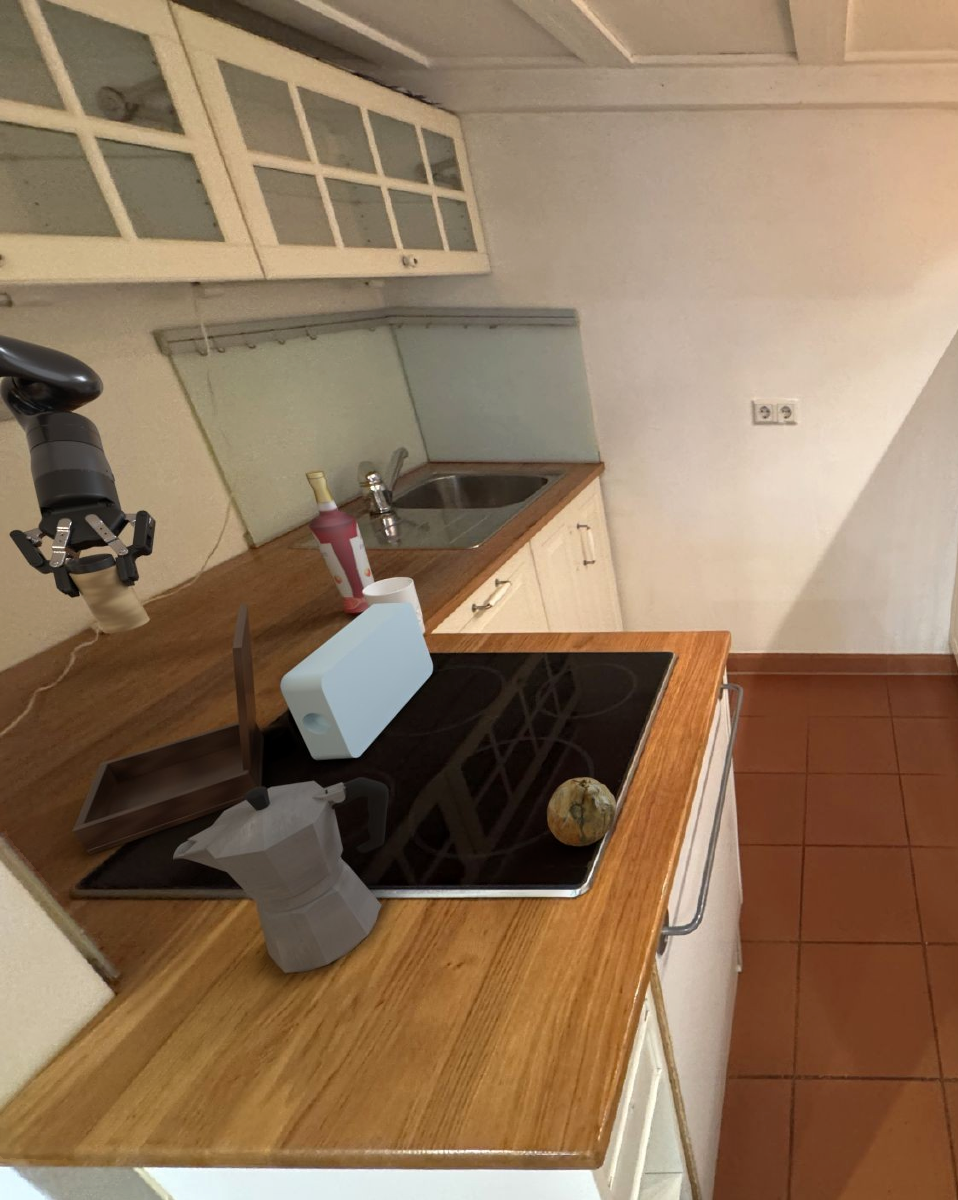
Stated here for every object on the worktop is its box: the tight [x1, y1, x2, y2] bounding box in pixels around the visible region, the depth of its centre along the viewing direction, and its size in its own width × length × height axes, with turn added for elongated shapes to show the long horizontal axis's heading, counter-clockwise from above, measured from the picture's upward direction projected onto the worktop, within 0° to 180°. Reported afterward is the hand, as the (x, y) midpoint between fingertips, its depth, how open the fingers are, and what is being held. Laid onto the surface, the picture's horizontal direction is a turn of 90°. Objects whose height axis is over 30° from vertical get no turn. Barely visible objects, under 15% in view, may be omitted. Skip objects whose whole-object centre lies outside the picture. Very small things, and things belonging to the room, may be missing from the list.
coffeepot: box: [172, 776, 390, 974], centre depth 61 cm, size 15×9×18 cm, turn 125°
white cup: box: [362, 576, 426, 635], centre depth 118 cm, size 8×8×10 cm
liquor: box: [305, 470, 376, 617], centre depth 124 cm, size 7×7×28 cm
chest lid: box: [231, 604, 257, 770], centre depth 83 cm, size 16×15×1 cm
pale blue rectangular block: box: [280, 602, 434, 761], centre depth 95 cm, size 23×6×13 cm, turn 4°
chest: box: [71, 721, 265, 856], centre depth 83 cm, size 16×15×4 cm
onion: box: [546, 776, 618, 847], centre depth 74 cm, size 8×8×8 cm
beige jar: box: [66, 553, 151, 634], centre depth 89 cm, size 5×5×10 cm
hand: (100, 588), depth 87 cm, fingers closed on beige jar, 5 cm apart
